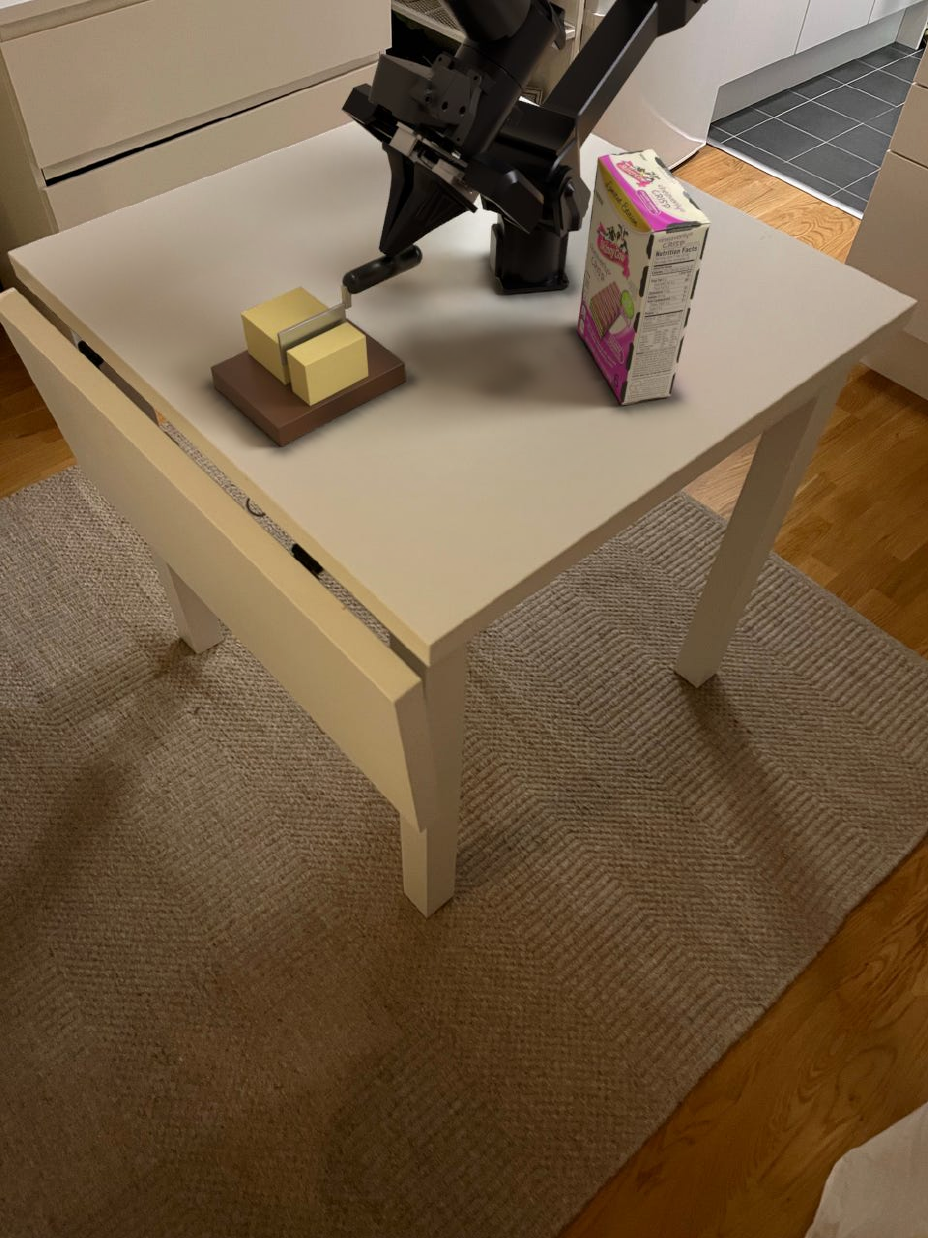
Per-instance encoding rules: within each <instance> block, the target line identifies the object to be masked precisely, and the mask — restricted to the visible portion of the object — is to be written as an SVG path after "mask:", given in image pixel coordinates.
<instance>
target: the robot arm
mask: <svg viewBox="0 0 928 1238" xmlns="http://www.w3.org/2000/svg"><path fill="white" fill-rule="evenodd" d="M436 1H437V2H438V3H439V5H440V6H441V8H442V9H443V11H444V12H445V13H446V14H447V15H448V17H449V18H450V19H451V21H452V22H453V23H454V25H455V26H456V28H457V29H458V30H459V31H460V33H462V35H463V36H464V37H465V38H464V39H463V41H462V42H461V44H460V46H459V48H458V49H457V51H456V53H455V55H452V54H450V53H449V52H447V51H443V52H442V53H441V54H439V55H438V56H437V57H436V58H435V60H434V62H433V64H432V65H431V66H430V67H429V66H425V65H422V64H419V63H417V62H414V61H411V60H407V59H403V58H400V57H398V56H397V57H396V56H393V55H390V54H386V53H380V54H379V56H378V57H379V58H378V61H377V65H376V69H375V73H374V76H373V80H372V84H371V85H370V84H369V83H366V82H365V83H362V84H360V85H356V86H353V87H352V88H351V91H350V93H349V95H348V97H347V98H346V100H345V102H344V103H343V105H342V108H341V111H342V112H343V113H344V114H345V115H347V117H349V118H350V119H351V120H353V122H355V123H357V125H359V126H360V127H361V128H362V129H363V130H365V131H366V132H367V133H369V134H370V135H371V136H372V137H373V138H374V139H376V140H377V141H378V142H380V143H381V150H382V151H383V152H384V153H386V156H387V159H388V165H389V169H390V175H391V177H390V187H389V193H388V195H389V196H388V200H387V205H386V209H385V214H384V219H383V225H382V229H381V233H380V238H379V244H378V252H380V253H381V254H383V256H384V255H386V256H387V257H389V258H393V257H394V256H396V255H397V254H399V253H400V252H402V251H403V250H405V249H406V248H408V247H409V246H411V245H412V244H414V245H415V243H416V242H418V241H420V240H421V239H422V238H424V237H425V236H427V235H428V234H430V233H432V232H433V231H434V230H436V229H438V228H439V227H441V226H443V225H445V224H446V223H449V222H451V221H452V220H454V219H455V218H457V217H459V216H461V215H463V214H465V213H467V212H470V213H472V214H475V213H476V212H477V211H478V210H479V207H477V205H475V204H474V203H475V202H476V200H478V197H479V198H480V202H481V208H482V210H484V211H486V212H489V211H490V212H492V213H496V214H497V218H496V222H495V223H492V225H491V226H490V243H489V246H490V247H489V264H490V268H491V271H492V274H493V275H494V277H495V278H496V279H497V280H498V283H499V285H500V287H501V291H502V293H504V294H508V295H509V294H519V293H529V292H540V291H541V292H542V291H550V290H562V289H567V288H569V286H570V280H569V278H568V275H567V273H566V263H567V255H568V246H569V237H570V233H572V232H579V231H580V230H581V229H582V227H583V220H584V218H585V217H586V215H587V211H588V210H589V207H590V206H589V203H590V199H591V196H592V191H591V190H590V189H589V187H588V185H587V184H586V182H585V181H584V180H583V178H582V176H581V148H582V147H583V145H584V143H585V142H586V141H587V139H588V137H589V136H590V135H591V134H592V132H593V131H594V130H595V128H596V126H597V124H598V123H599V122H600V120H601V119H602V117H603V116H604V114H605V113H606V111H607V110H608V108H609V107H610V105H611V104H612V103H613V101H614V99H615V98H616V97H617V96H618V94H619V93H620V91H621V90H622V88H623V87H624V85H625V84H626V83H627V81H628V80H629V78H630V77H631V75H632V74H633V72H634V71H635V69H636V68H637V66H638V65H639V64H640V62H641V61H642V59H643V58H644V56H645V55H646V54H647V52H648V51H649V49H650V48H651V46H652V45H653V44H654V42H655V41H656V39H657V38H660V37H663V36H665V35H667V34H671V33H673V32H675V31H678V30H681V29H683V28H684V27H686V26H687V25H688V24H689V23H690V21H691V20H692V19H693V18H694V17H695V16H696V14H697V13H698V12H699V11H700V10H701V8H702V7H703V6H704V5H706V4H707V2H709V0H615V1H614V2H613V4H612V5H611V6H610V8H609V9H608V10H607V12H606V13H605V15H604V16H603V18H601V20H600V22H599V23H598V25H597V26H596V28H595V29H594V31H593V32H592V33H591V35H590V36H589V38H588V39H586V42H585V43H584V44H583V46H582V47H581V49H580V50H579V51H578V52H577V54H576V56H575V57H574V58H573V60H572V61H571V62H570V64H569V65H568V67H567V68H566V70H565V71H564V72H563V74H561V76H560V78H559V80H558V81H557V82H556V84H555V85H554V86H553V88H552V89H551V90H550V92H549V94H548V95H547V96H546V98H545V99H544V100H543V102H542V103H541V104H540V105H537V104H534V103H531V102H530V103H529V102H527V101H523V100H521V97H522V96H523V94H524V92H525V90H526V89H527V87H528V85H529V84H530V82H531V80H532V79H533V77H534V76H535V73H536V72H537V70H538V69H539V67H540V65H541V64H542V62H543V60H544V59H545V57H546V55H547V53H548V51H549V50H550V48H554V49H555V50H557V51H563V49H564V48H565V46H566V41H567V40H566V39H567V31H566V27H565V26H566V25H565V17H566V10H565V8H564V7H561V6H559V5H558V4H556V3H555V2H553V1H550V0H436Z"/></svg>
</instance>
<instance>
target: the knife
mask: <svg viewBox="0 0 928 1238" xmlns="http://www.w3.org/2000/svg"><path fill="white" fill-rule="evenodd" d="M422 260H423V251H422V249H421V248H420V246H418V245H416V244H415V243H414V244H412V245H411V246H409V247H408V248H406V249H405V250H403V251H402V252H400V253H399V254H397V255H396V256H394V257H393V258H389V257H387V256H386V255H384V254H383V255H381V256H379V257H377V258H375V259H373V260H371V261H369V262H366V263H364V264H362V265H360V266H358V267H356V268H353V269H351V270H349V271H347V272H345V273H344V275H343V277H342V281H341V285H340V289H341V290H340V291H341V301H342V302H340V303H338V304H336V305H334V306H332V307H329V308H330V309H327V310H325V311H323V312H321V313H319V314H317V315H315V316H313V317H310V318H308V319H306V320H304V321H302V322H300V323H298V324H296V325H293V326H291V327H289V328H287V329H285V330H283V331H281V332H278V333H277V336H278V342H279V348H280V354H281V361H282V365H283V366H285V365H287V364H288V358H287V351H288V350H290V349H292V348H294V347H296V346H298V345H300V344H302V343H304V342H306V341H308V340H311V339H313V338H315V337H317V336H319V335H321V334H323V333H325V332H327V331H329V330H331V329H333V328H335V327H338V326H340V325H342V324H344V323H346V322H347V321H346V318H347V313H346V312H347V311H346V310H348V309H350V308H352V306H353V303H352V295H358V294H360V293H363V292H364V291H366V290H369V289H371V288H373V287H374V286H377V285H380V284H382V283H384V282H386V281H389V280H390V279H392V278H394V277H396V276H399V275H401V274H403V273H405V272H407V271H409V270H412V269H413V268H416V267H417V266H419V265H420V264H421V262H422Z"/></svg>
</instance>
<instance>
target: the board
mask: <svg viewBox="0 0 928 1238" xmlns="http://www.w3.org/2000/svg"><path fill="white" fill-rule="evenodd" d="M346 321H347V322H348V323H349V324H350V325H352V326H353V327H354V328H356V329H357V330H358V331H359V332H361V333H362V334H363V335H365V337H366V350H367V363H368V377H366V378H364V379H362V380H360V381H358V382H356V383H354V384H352V385H350V386H348V387H346V388H344V389H342V390H340V391H339V392H337V393H335V394H333V395H331V396H329V397H327V398H325V399H323V400H321V401H319V402H317V403H315V404H313V405H311V406H310V405H308V404H307V403H306V402H305V401H304V400H303V399H301V398H300V397H299V396H298V395H297V394H296V393H294V392H293V390H292V383H291V382H290V383H288V384H286V385H285V384H284V383H283V382H281V381H280V380H279V379H278V378H277V377H276V376H274V375H273V374H272V373H271V372H270V371H269V370H267V369H266V368H265V367H264V366H263V365H262V364H260V363H259V362H258V361H257V360H256V359H255V358H253V357H252V356H251V355H250V354H249V353H248V349H247V350H244V351H242V352H240V353H238V354H236V355H233V356H230V357H229V358H227V359H225V360H222V361H221V362H218V363H216V364H214V365H212V366H210V367H209V368H210V369H209V370H210V374H211V377H212V381H213V386H214V387H215V388H216V389H217V390H218V391H219V392H220V393H221V394H222V395H223V396H225V397H226V398H227V399H228V400H229V401H230V402H231V403H233V405H234V406H236V408H238V409H239V410H240V411H241V412H242V413H243V414H244V415H245V416H247V417H248V418H249V419H250V420H251V421H252V422H253V423H254V424H255V425H256V426H257V427H259V428H260V429H261V430H262V431H263V432H264V433H265V434H267V435H268V437H270V438H271V439H272V440H273V441H274V442H275V443H276V444H277V445H278V446H280V447H281V448H282V447H284V446H285V445H288V444H289V443H292V442H293V441H295V440H298V439H299V438H301V437H303V436H304V435H307V434H308V433H310V432H312V431H314V430H316V429H318V428H320V427H322V426H324V425H325V424H327V423H329V422H331V421H333V420H335V419H337V418H338V417H341V416H342V415H344V414H346V413H349V412H350V411H352V410H354V409H355V408H357V407H359V406H361V405H364V404H365V403H367V402H369V401H370V400H372V399H374V398H376V397H378V396H380V395H382V394H384V393H386V392H388V391H390V390H391V389H393V388H396V387H397V386H399V385H401V384H403V383H405V382H406V380H407V379H406V362H405V361H404V360H403V359H401V358H400V357H399V356H397V355H396V354H395V353H393V352H392V351H391V350H389V349H388V348H387V347H385V346H384V345H383V344H382V343H380V342H379V341H377V339H375V338H374V337H373V336H371V335H370V334H369V333H367V332H366V331H365V330H363V329H362V328H361V327H359V326H358V325H357V324H355V322H353V321H351V320H350V319H349V318H347V317H346Z"/></svg>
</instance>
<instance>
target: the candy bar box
mask: <svg viewBox="0 0 928 1238" xmlns="http://www.w3.org/2000/svg"><path fill="white" fill-rule="evenodd" d="M594 179H595V180H594V187H593V188H594V189H593V194H592V195H593V196H592V206H591V214H590V221H589V229H588V238H587V248H586V254H585V255H586V256H585V263H584V273H583V281H582V289H581V298H580V306H579V313H578V320H577V328H576V331H577V332H578V334H579V336H580V337H581V339H582V341H583V342H584V344H585V346H586V347H587V349H588V351H589V352H590V354H591V356H592V357H593V359H594V361H595V363H596V364H597V366H598V368H599V369H600V371H601V372H602V375H603V376H604V377H605V380H606V381H607V382H608V384H609V386H610V387H611V390H612V392H613V393H614V395H615V396H616V399H617V400H618V401H619V403H620V405H621V406H627V405H628V406H629V405H635V404H638V403H643V402H647V401H653V400H659V399H665V398H669V397H670V398H671V396H672V393H673V392H672V391H673V388H674V383H675V379H676V374H677V372H678V371H677V370H678V366H679V361H680V357H681V353H682V347H683V344H684V339H685V335H686V331H687V326H688V322H689V318H690V314H691V309H692V305H693V301H694V296H695V291H696V287H697V283H698V279H699V278H698V277H699V274H700V269H701V266H702V261H703V256H704V251H705V248H706V244H707V239H708V235H709V230H710V227H711V225H712V222H711V220H710V219H709V218H708V217H707V216H706V214H705V213H704V212H703V211H702V209H700V207H699V206H698V204H697V203H696V202H695V201H694V199H693V198H692V197H691V196H690V194H688V192H687V190H686V189H685V188H684V187H683V186H682V184H681V183H680V182H679V181H678V180H677V178H676V176H674V174H673V173H672V172H671V170H670V169H669V168H668V166H666V164H665V163H664V162H663V160H662V159H661V158H660V157H659V155H658V154H657V153H656V152H655V150H654V149H653V148H649V149H642V150H635V151H625V152H620V153H609V154H605V155H601V156H598V157H597V161H596V171H595V178H594Z"/></svg>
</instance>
